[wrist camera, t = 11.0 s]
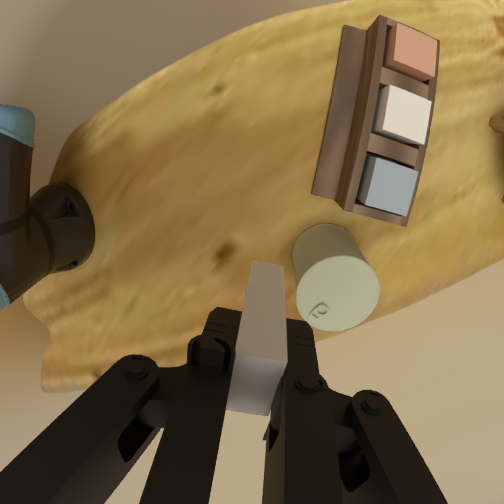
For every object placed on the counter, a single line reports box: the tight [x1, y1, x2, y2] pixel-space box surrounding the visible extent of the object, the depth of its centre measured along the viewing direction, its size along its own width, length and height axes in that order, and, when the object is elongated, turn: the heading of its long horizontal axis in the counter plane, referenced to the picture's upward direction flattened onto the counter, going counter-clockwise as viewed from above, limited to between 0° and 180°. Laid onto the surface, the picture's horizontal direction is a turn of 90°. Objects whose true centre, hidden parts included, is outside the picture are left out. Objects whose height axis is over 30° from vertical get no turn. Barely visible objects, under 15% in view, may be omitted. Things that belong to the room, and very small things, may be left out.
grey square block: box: [356, 156, 418, 216], centre depth 30 cm, size 5×5×6 cm
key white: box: [371, 85, 431, 145], centre depth 27 cm, size 5×5×6 cm
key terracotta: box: [382, 23, 437, 82], centre depth 24 cm, size 5×5×6 cm
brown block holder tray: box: [311, 15, 440, 227], centre depth 29 cm, size 14×24×7 cm, turn 170°
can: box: [292, 224, 380, 331], centre depth 34 cm, size 9×9×12 cm
